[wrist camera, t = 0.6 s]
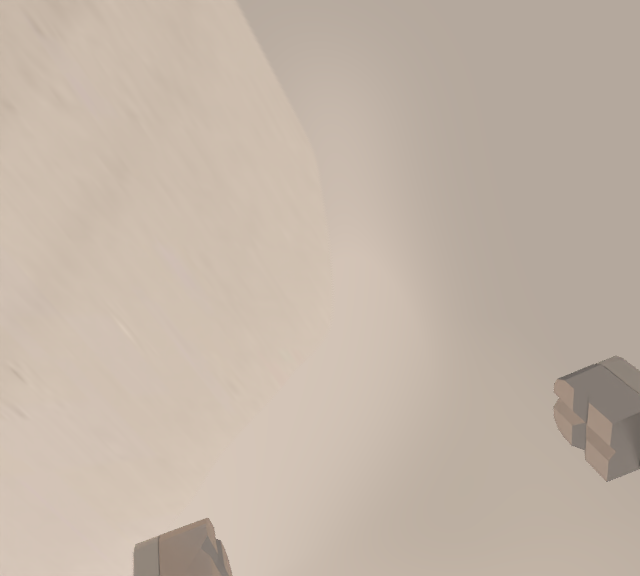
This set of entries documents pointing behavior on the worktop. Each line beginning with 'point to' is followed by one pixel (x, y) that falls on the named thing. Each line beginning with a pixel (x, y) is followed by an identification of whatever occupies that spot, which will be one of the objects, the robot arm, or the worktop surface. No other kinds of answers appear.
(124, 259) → the worktop surface
